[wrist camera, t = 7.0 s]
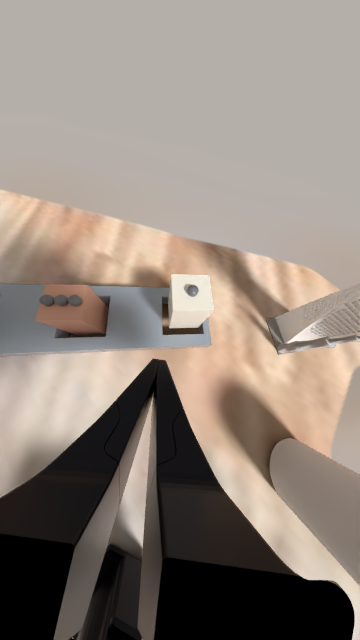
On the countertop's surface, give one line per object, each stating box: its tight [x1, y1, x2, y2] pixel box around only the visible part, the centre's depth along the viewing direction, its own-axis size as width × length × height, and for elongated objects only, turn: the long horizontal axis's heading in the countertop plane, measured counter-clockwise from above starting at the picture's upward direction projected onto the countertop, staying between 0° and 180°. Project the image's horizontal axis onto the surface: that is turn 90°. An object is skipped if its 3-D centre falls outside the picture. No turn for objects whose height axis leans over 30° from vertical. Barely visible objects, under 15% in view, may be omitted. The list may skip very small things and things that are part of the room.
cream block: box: [168, 274, 214, 328], centre depth 18 cm, size 4×4×8 cm
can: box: [270, 438, 360, 586], centre depth 14 cm, size 8×8×12 cm
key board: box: [0, 284, 212, 356], centre depth 21 cm, size 38×10×3 cm, turn 93°
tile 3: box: [35, 284, 109, 335], centre depth 18 cm, size 4×4×8 cm
